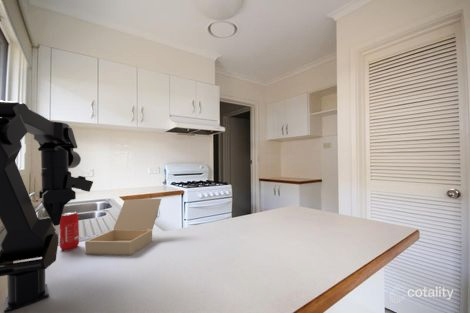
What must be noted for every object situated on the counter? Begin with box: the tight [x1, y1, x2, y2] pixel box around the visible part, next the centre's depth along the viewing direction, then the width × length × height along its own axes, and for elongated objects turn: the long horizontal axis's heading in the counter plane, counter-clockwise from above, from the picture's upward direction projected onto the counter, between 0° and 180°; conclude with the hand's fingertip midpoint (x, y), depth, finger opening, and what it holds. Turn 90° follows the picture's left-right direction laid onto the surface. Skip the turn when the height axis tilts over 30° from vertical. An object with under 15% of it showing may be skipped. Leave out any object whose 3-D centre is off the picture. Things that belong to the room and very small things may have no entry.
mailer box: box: [84, 229, 153, 256], centre depth 72 cm, size 12×16×4 cm
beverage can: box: [59, 211, 80, 252], centre depth 74 cm, size 5×5×12 cm
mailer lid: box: [113, 198, 162, 231], centre depth 82 cm, size 12×16×1 cm
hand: (56, 225), depth 58 cm, fingers closed
